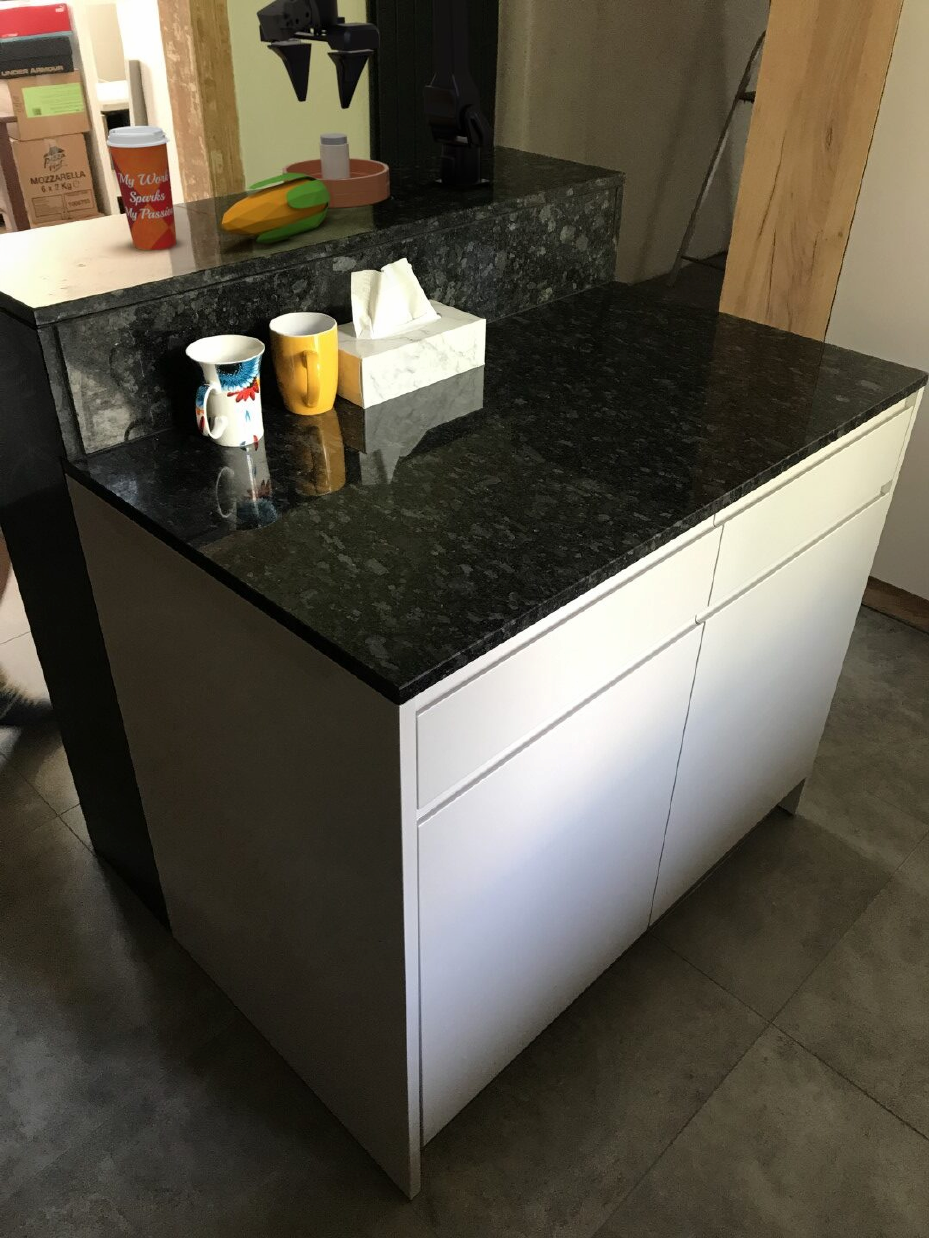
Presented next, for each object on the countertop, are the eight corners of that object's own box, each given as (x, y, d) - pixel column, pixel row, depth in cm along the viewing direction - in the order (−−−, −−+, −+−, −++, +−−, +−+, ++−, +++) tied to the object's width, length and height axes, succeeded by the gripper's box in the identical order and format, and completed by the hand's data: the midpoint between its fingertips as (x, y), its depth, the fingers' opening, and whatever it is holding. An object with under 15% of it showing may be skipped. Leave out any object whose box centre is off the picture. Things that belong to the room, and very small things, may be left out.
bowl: (342, 183, 165) (340, 153, 162) (411, 199, 156) (410, 168, 153) (264, 200, 155) (260, 169, 152) (332, 217, 146) (329, 185, 143)
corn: (340, 166, 138) (240, 193, 124) (347, 224, 142) (251, 256, 129) (300, 164, 142) (198, 190, 128) (308, 220, 146) (210, 252, 132)
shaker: (338, 191, 157) (334, 132, 153) (357, 195, 155) (354, 135, 150) (317, 195, 155) (312, 135, 150) (336, 200, 152) (331, 139, 148)
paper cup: (126, 254, 130) (103, 137, 122) (125, 239, 136) (104, 126, 128) (187, 249, 132) (169, 134, 124) (183, 235, 138) (166, 124, 130)
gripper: (219, -29, 130) (235, 104, 139) (311, -24, 120) (322, 120, 129) (287, -31, 137) (298, 96, 146) (379, -27, 126) (385, 110, 135)
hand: (323, 105), depth 139 cm, fingers open, 9 cm apart
